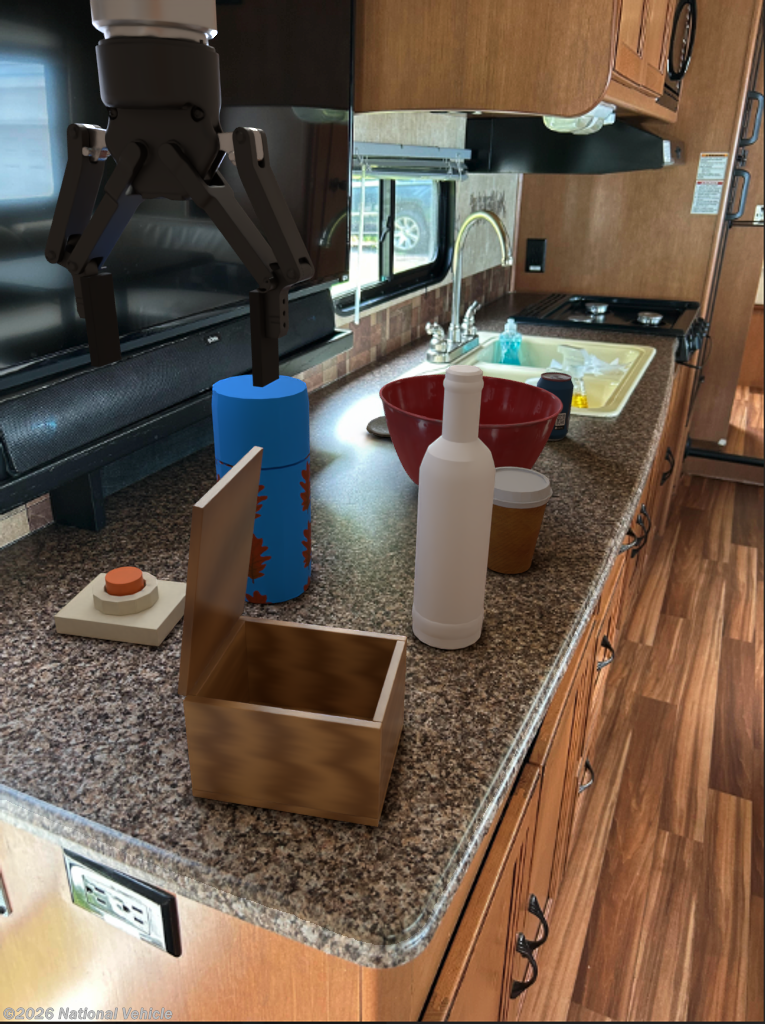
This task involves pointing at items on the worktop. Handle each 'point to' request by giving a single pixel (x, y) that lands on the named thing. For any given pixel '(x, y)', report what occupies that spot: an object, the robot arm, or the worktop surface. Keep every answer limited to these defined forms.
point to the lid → (378, 427)
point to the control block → (124, 612)
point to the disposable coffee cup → (516, 518)
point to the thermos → (270, 477)
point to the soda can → (564, 391)
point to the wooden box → (298, 719)
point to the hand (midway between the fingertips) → (183, 372)
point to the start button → (124, 581)
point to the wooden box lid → (218, 565)
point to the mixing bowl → (502, 423)
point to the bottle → (454, 520)
